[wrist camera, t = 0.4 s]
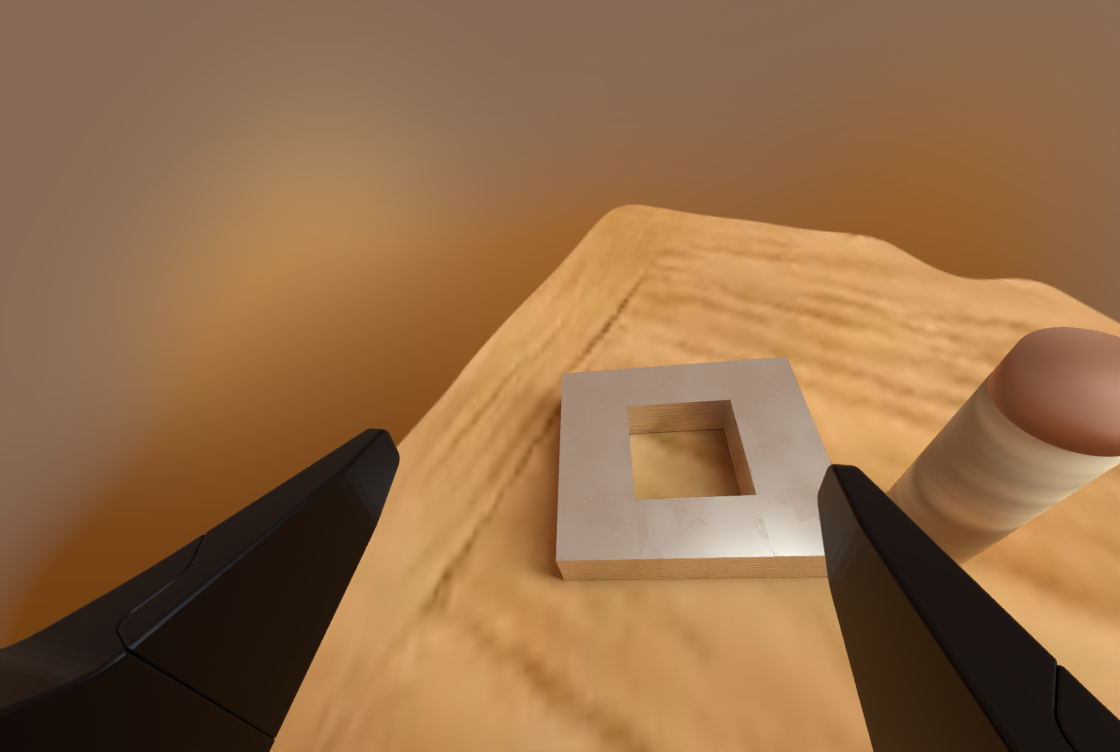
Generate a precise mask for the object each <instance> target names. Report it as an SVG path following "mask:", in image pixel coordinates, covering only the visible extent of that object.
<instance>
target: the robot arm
mask: <svg viewBox="0 0 1120 752" xmlns="http://www.w3.org/2000/svg"><path fill="white" fill-rule="evenodd" d="M399 460H400V457H399V453H398V450H397V448H396V446H395V444H394V442H393V440H392V438H391V436H390V434H389V432H388V431H387V430H384V429H367V430H365V431H364V432H362V433H361V434H359V435H357V436H356V437H354V438H353V439H351V440H350V441H348V442H347V443H345V444H343V445H342V446H340V447H339V448H337V449H336V450H334V451H332V452H331V453H330V454H328V455H326V456H325V457H323V458H322V459H320V460H318V461H317V462H315V463H314V464H312V465H311V466H310V467H308V468H306V469H304V470H303V471H301V472H300V473H298V474H297V475H295V476H294V477H292V478H290V479H289V480H287V481H286V482H284V483H283V484H281V485H279V486H278V487H276V488H275V489H273V490H272V491H270V492H269V493H267V494H265V495H264V496H262V497H261V498H259V499H258V500H256V501H254V502H253V503H251V504H250V505H249V506H247V507H245V508H244V509H242V510H241V511H239V512H237V513H236V514H234V515H233V516H231V517H229V518H228V519H226V520H225V521H223V522H222V523H220V524H218V525H217V526H215V527H214V528H212V529H211V530H209V531H208V532H207V533H206V534H205V535H201V536H200V537H198V538H197V539H195V540H193V541H192V542H190V543H189V544H187V545H186V546H184V547H183V548H181V549H179V550H178V551H176V552H175V553H173V554H171V555H170V556H168V557H167V558H165V559H163V560H162V561H160V562H158V563H157V564H155V565H154V566H152V567H150V568H149V569H147V570H145V571H143V572H142V573H140V574H138V575H137V576H135V577H133V578H132V579H130V580H128V581H126V582H125V583H123V584H121V585H120V586H118V587H116V588H114V589H112V590H111V591H109V592H107V593H105V594H104V595H102V596H100V597H98V598H97V599H95V600H93V601H92V602H90V603H88V604H86V605H84V606H83V607H81V608H79V609H78V610H76V611H74V612H72V613H71V614H69V615H67V616H65V617H63V618H62V619H60V620H58V621H56V622H55V623H53V624H51V625H50V626H48V627H46V628H44V629H43V630H41V631H39V632H37V633H35V634H33V635H32V636H30V637H28V638H25V639H23V640H21V641H19V642H17V643H15V644H12V645H10V646H7V647H5V648H2V649H0V752H270V749H271V747H272V745H273V743H274V741H275V739H274V738H276V736H277V734H278V732H279V730H280V728H281V726H282V724H283V722H284V719H285V717H286V715H287V713H288V711H289V709H290V707H291V705H292V703H293V701H294V698H295V696H296V694H297V692H298V690H299V688H300V686H301V684H302V682H303V680H304V677H305V675H306V673H307V671H308V669H309V667H310V665H311V663H312V661H313V659H314V656H315V654H316V652H317V650H318V648H319V646H320V644H321V642H322V640H323V638H324V635H325V633H326V631H327V629H328V627H329V625H330V623H331V621H332V619H333V617H334V614H335V612H336V610H337V608H338V606H339V604H340V602H341V600H342V598H343V596H344V593H345V591H346V589H347V587H348V585H349V583H350V581H351V579H352V577H353V575H354V572H355V570H356V568H357V566H358V564H359V562H360V560H361V558H362V556H363V554H364V551H365V549H366V547H367V545H368V543H369V541H370V539H371V537H372V535H373V532H374V530H375V528H376V526H377V523H378V521H379V518H380V516H381V513H382V510H383V507H384V504H385V502H386V499H387V496H388V493H389V490H390V488H391V485H392V482H393V479H394V477H395V474H396V471H397V468H398V465H399ZM817 504H818V512H819V519H820V526H821V533H822V540H823V547H824V554H825V561H826V568H827V574H828V580H829V586H830V590H831V594H832V598H833V602H834V606H835V610H836V613H837V617H838V621H839V625H840V628H841V632H842V636H843V640H844V643H845V647H846V651H847V655H848V658H849V662H850V666H851V669H852V673H853V677H854V681H855V684H856V688H857V692H858V696H859V699H860V703H861V707H862V711H863V714H864V718H865V722H866V725H867V729H868V733H869V737H870V740H871V744H872V748H873V752H1120V720H1119V719H1118V718H1117V717H1116V716H1115V715H1114V714H1113V713H1112V712H1110V711H1109V710H1108V709H1107V708H1106V707H1105V706H1104V705H1103V704H1102V703H1101V702H1100V701H1099V700H1098V699H1097V698H1096V697H1094V696H1093V695H1092V694H1091V693H1090V692H1089V691H1088V690H1087V689H1086V688H1085V687H1084V686H1083V685H1082V684H1081V683H1080V682H1079V681H1078V680H1077V679H1076V678H1075V677H1074V676H1073V675H1072V674H1071V673H1070V672H1069V671H1068V670H1067V669H1066V668H1064V667H1063V666H1061V665H1057V661H1056V659H1055V658H1054V657H1053V656H1052V655H1051V654H1050V653H1049V652H1048V651H1047V650H1046V649H1045V648H1044V647H1043V646H1042V645H1041V644H1040V643H1038V642H1037V641H1036V640H1035V639H1034V638H1033V637H1032V636H1031V635H1030V634H1029V633H1028V632H1027V631H1026V630H1025V629H1024V628H1023V627H1022V626H1021V625H1020V624H1019V623H1018V622H1017V621H1016V620H1015V619H1014V618H1013V617H1012V616H1011V615H1010V614H1009V613H1008V612H1007V611H1006V610H1004V609H1003V608H1002V607H1001V606H1000V605H999V604H998V603H997V602H996V601H995V600H994V599H993V598H992V597H991V596H990V595H989V594H988V593H987V592H986V591H985V590H984V589H983V588H982V587H981V586H980V585H979V584H978V583H977V582H976V581H975V580H974V579H973V578H972V577H970V576H969V575H968V574H967V573H966V572H965V571H964V570H963V569H962V568H961V567H960V566H959V565H958V564H957V563H956V562H955V561H954V560H953V559H952V558H951V557H950V556H949V555H948V554H947V553H946V552H945V551H944V550H943V549H942V548H941V547H940V546H939V545H937V544H936V543H935V542H934V541H933V540H932V539H931V538H930V537H929V536H928V535H927V534H926V533H925V532H924V531H923V530H922V529H921V528H920V527H919V526H918V525H917V524H916V523H915V522H914V521H913V520H912V519H911V518H910V517H909V516H908V515H907V514H906V513H905V512H903V511H902V510H901V509H900V508H899V507H898V506H897V505H896V504H895V503H894V502H893V501H892V500H891V499H890V498H889V497H888V496H887V495H886V494H885V493H884V492H883V491H882V490H881V489H880V488H879V487H878V486H877V485H876V484H875V483H874V482H873V481H872V480H871V479H869V478H868V477H867V476H866V475H865V474H864V473H863V472H862V471H861V470H860V469H859V468H857V467H856V466H853V465H841V464H831V465H830V466H829V467H828V468H827V470H826V473H825V475H824V478H823V481H822V483H821V486H820V489H819V491H818V496H817Z"/></svg>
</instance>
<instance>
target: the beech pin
mask: <svg viewBox="0 0 1120 752" xmlns="http://www.w3.org/2000/svg"><path fill="white" fill-rule="evenodd" d="M1119 463H1120V337H1117V336H1114V335H1110V334H1107V333H1103V332H1098V331H1094V330H1088V329H1081V328H1068V327H1058V328H1047V329H1042V330H1037V331H1034V332H1032V333H1029V334H1028V335H1026V336H1024V337H1023V338H1022V339H1020V341H1019V342H1018V343H1017V344H1016V345H1015V346H1014V347H1013V349H1012V350H1011V351H1010V352H1009V353H1008V354H1007V355H1006V357H1005V358H1004V359H1003V360H1002V361H1001V362H1000V364H999V365H998V366H997V367H996V368H995V369H994V370H993V372H992V373H991V374H990V375H989V376H988V377H987V378H986V380H985V381H984V382H983V383H982V384H981V385H980V386H979V388H978V389H977V390H976V391H975V392H974V393H973V395H972V396H971V397H970V398H969V399H968V400H967V401H966V403H965V404H964V405H963V406H962V407H961V408H960V409H959V411H958V412H957V413H956V414H955V415H954V416H953V417H952V419H951V420H950V421H949V422H948V423H947V424H946V426H945V427H944V428H943V429H942V430H941V431H940V432H939V434H938V435H937V436H936V437H935V438H934V439H933V440H932V442H931V443H930V444H929V445H928V446H927V447H926V449H925V450H924V451H923V452H922V453H921V454H920V455H919V457H918V458H917V459H916V460H915V461H914V462H913V463H912V465H911V466H910V467H909V468H908V469H907V470H906V471H905V473H904V474H903V475H902V476H901V477H900V478H899V480H898V481H897V482H896V483H895V484H894V485H893V486H892V488H891V489H890V490H889V491H888V492H887V493H886V495H887V496H888V497H889V498H890V499H891V500H892V501H893V502H894V503H895V504H896V505H897V506H898V507H899V508H900V509H901V510H902V511H903V512H905V513H906V514H907V515H908V516H909V517H910V518H911V519H912V520H913V521H914V522H915V523H916V524H917V525H918V526H919V527H920V528H921V529H922V530H923V531H924V532H925V533H926V534H927V535H928V536H929V537H930V538H931V539H932V540H933V541H934V542H935V543H936V544H937V545H939V546H940V547H941V548H942V549H943V550H944V551H945V552H946V553H947V554H948V555H949V556H950V557H951V558H952V559H953V560H954V561H955V562H956V563H957V564H958V565H959V566H961V565H962V564H964V563H965V562H967V561H969V560H970V559H972V558H973V557H975V556H976V555H978V554H979V553H981V552H983V551H984V550H986V549H987V548H989V547H990V546H992V545H993V544H995V543H996V542H998V541H1000V540H1001V539H1003V538H1004V537H1006V536H1007V535H1009V534H1010V533H1012V532H1014V531H1015V530H1017V529H1018V528H1020V527H1021V526H1023V525H1024V524H1026V523H1028V522H1029V521H1031V520H1032V519H1034V518H1035V517H1037V516H1038V515H1040V514H1041V513H1043V512H1045V511H1046V510H1048V509H1049V508H1051V507H1052V506H1054V505H1055V504H1057V503H1059V502H1060V501H1062V500H1063V499H1065V498H1066V497H1068V496H1069V495H1071V494H1072V493H1074V492H1076V491H1077V490H1079V489H1080V488H1082V487H1083V486H1085V485H1086V484H1088V483H1090V482H1091V481H1093V480H1094V479H1096V478H1097V477H1099V476H1100V475H1102V474H1104V473H1105V472H1107V471H1108V470H1110V469H1111V468H1113V467H1114V466H1116V465H1117V464H1119Z"/></svg>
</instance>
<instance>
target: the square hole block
mask: <svg viewBox="0 0 1120 752" xmlns="http://www.w3.org/2000/svg"><path fill="white" fill-rule="evenodd" d="M706 429H724V431H725V435H726V439H727V443H728V447H729V451H730V455H731V459H732V463H733V467H734V471H735V475H736V479H737V483H738V487H739V491H740V495H741V496H716V497H689V498H662V499H635V497H634V485H633V474H632V462H631V450H630V438H629V434H635V433H653V432H671V431H689V430H706ZM830 465H831V462H830V460H829V457H828V455H827V452H826V450H825V448H824V445H823V443H822V440H821V438H820V435H819V433H818V431H817V428H816V426H815V423H814V421H813V419H812V416H811V414H810V411H809V409H808V407H807V404H806V402H805V399H804V397H803V394H802V392H801V390H800V387H799V385H798V382H797V380H796V378H795V375H794V373H793V370H792V368H791V366H790V363H789V361H788V358H787V357H779V358H765V359H752V360H739V361H725V362H712V363H699V364H685V365H672V366H659V367H645V368H632V369H618V370H605V371H592V372H578V373H565V374H562V399H561V428H560V456H559V485H558V513H557V541H556V562H557V565H558V567H559V569H560V571H561V574H562V576H563V578H564V580H615V579H685V578H755V577H826V576H828V574H827V568H826V561H825V554H824V547H823V540H822V533H821V526H820V519H819V512H818V504H817V496H818V491H819V489H820V486H821V483H822V481H823V478H824V475H825V473H826V470H827V468H828V467H829V466H830Z"/></svg>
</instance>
